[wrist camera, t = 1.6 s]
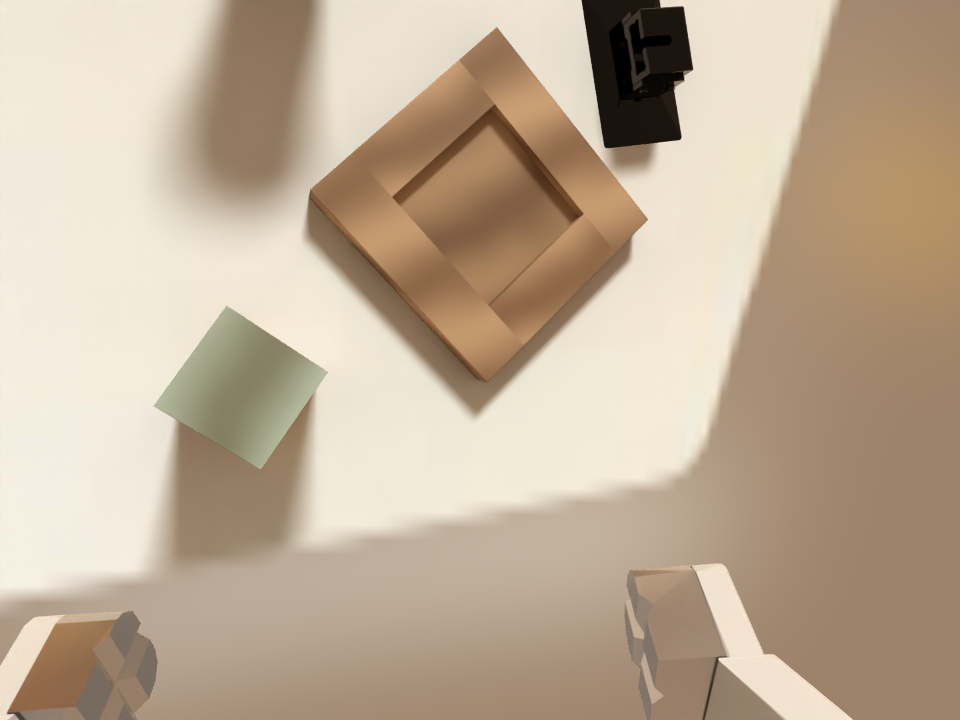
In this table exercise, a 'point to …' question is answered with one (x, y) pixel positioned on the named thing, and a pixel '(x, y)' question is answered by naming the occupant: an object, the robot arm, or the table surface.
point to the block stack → (241, 388)
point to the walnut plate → (481, 206)
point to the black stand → (637, 68)
